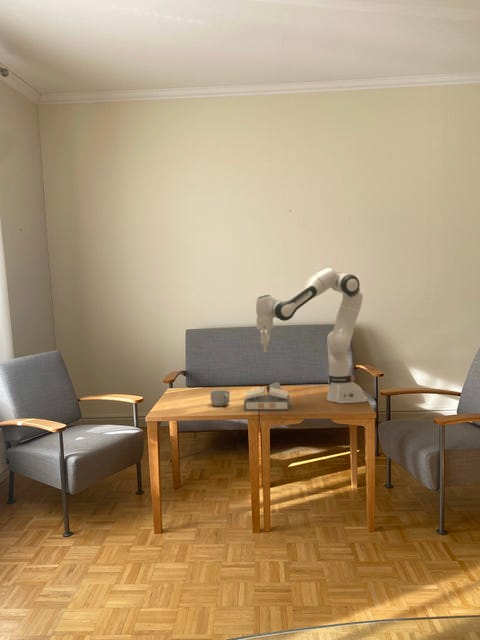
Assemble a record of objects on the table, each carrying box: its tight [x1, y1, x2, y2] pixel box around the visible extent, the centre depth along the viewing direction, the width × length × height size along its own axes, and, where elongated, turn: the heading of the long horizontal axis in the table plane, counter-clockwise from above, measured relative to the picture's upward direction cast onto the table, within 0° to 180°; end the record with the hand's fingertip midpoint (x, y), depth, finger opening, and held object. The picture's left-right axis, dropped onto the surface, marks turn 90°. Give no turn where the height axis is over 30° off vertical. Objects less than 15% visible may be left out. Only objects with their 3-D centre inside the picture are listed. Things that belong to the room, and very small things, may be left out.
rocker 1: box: [245, 387, 266, 399], centre depth 301 cm, size 10×11×2 cm
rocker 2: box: [269, 387, 289, 399], centre depth 299 cm, size 10×11×2 cm
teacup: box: [209, 389, 230, 407], centre depth 307 cm, size 14×11×8 cm
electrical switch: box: [265, 381, 282, 395], centre depth 320 cm, size 9×5×9 cm, turn 141°
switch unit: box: [243, 394, 291, 412], centre depth 300 cm, size 24×14×7 cm, turn 84°
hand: (265, 350), depth 298 cm, fingers open, 8 cm apart
